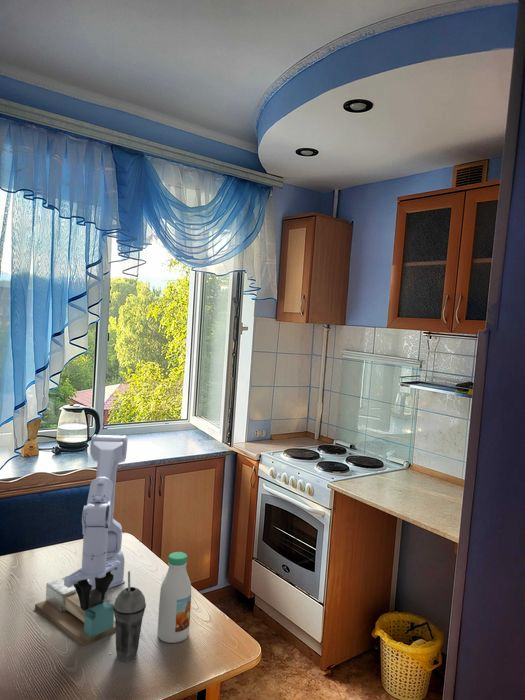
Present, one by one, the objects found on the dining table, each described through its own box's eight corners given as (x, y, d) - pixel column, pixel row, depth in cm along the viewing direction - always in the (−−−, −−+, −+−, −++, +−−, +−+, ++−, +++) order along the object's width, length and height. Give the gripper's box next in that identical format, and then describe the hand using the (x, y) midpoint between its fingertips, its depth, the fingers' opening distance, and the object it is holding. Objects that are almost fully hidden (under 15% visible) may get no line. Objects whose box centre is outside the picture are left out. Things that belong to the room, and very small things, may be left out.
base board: (70, 595, 144) (70, 591, 144) (119, 629, 129) (119, 624, 129) (34, 608, 136) (35, 604, 136) (83, 646, 122) (83, 641, 122)
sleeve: (62, 595, 142) (63, 577, 141) (78, 606, 136) (79, 588, 136) (45, 601, 138) (46, 583, 138) (61, 613, 133) (62, 594, 133)
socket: (106, 622, 130) (107, 601, 130) (113, 627, 128) (114, 605, 128) (83, 632, 125) (85, 610, 125) (90, 637, 123) (92, 614, 123)
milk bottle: (162, 647, 123) (167, 563, 123) (153, 629, 130) (158, 551, 130) (193, 640, 127) (198, 559, 126) (182, 623, 134) (187, 547, 133)
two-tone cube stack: (75, 603, 136) (76, 576, 136) (106, 624, 127) (107, 596, 127) (62, 607, 134) (64, 581, 133) (93, 630, 125) (94, 601, 124)
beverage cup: (149, 651, 121) (154, 566, 121) (131, 669, 114) (137, 579, 114) (122, 643, 124) (127, 560, 123) (103, 660, 117) (108, 572, 116)
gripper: (76, 565, 120) (73, 623, 120) (129, 548, 131) (125, 601, 131) (60, 556, 124) (57, 611, 125) (112, 540, 136) (109, 591, 136)
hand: (91, 606), depth 128 cm, fingers closed on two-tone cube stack, 3 cm apart
